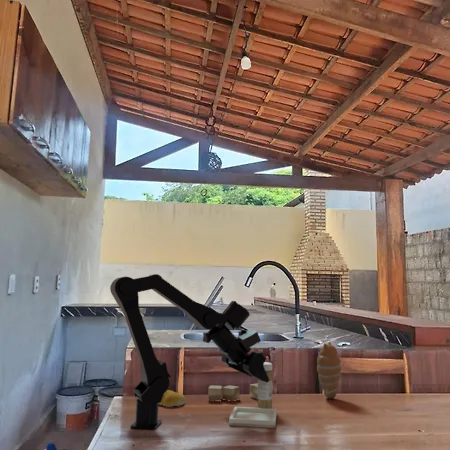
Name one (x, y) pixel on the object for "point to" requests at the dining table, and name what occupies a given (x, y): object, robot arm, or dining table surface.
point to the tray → (253, 417)
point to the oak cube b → (230, 393)
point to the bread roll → (172, 399)
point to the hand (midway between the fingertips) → (260, 378)
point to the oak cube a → (215, 393)
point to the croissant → (329, 370)
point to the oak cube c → (254, 390)
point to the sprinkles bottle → (265, 388)
